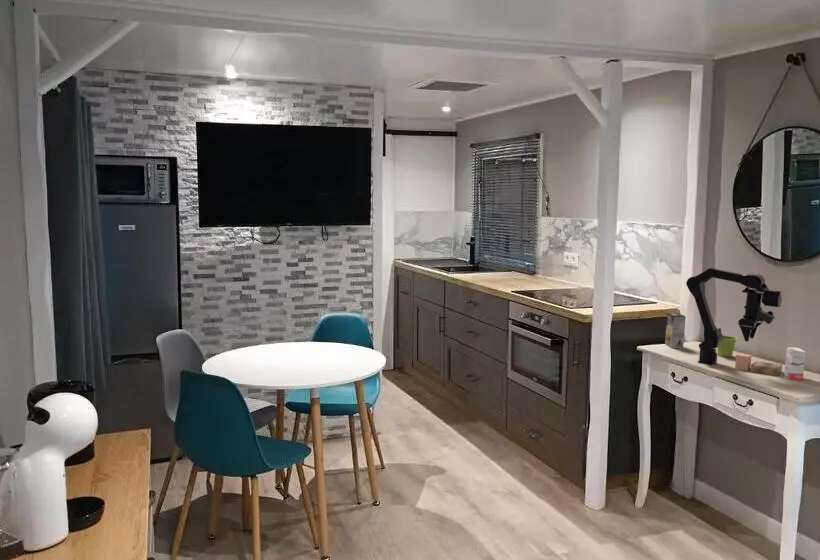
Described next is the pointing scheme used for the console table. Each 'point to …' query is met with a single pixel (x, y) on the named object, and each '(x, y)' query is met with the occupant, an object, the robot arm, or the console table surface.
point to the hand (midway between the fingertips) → (749, 339)
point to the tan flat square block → (766, 368)
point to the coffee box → (675, 330)
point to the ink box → (794, 363)
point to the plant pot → (726, 346)
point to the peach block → (743, 361)
